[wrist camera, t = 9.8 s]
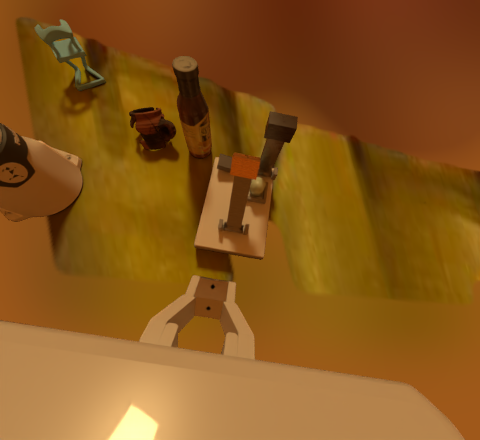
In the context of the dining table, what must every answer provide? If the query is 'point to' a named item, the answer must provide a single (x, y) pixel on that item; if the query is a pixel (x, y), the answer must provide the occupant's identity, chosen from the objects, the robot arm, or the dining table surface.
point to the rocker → (224, 163)
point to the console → (217, 215)
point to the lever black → (275, 140)
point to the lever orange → (240, 189)
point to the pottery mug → (152, 127)
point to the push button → (257, 186)
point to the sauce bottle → (192, 107)
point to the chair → (67, 51)
